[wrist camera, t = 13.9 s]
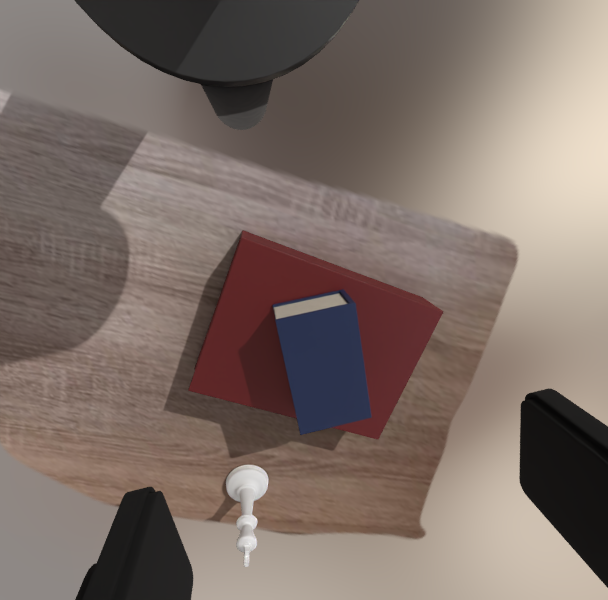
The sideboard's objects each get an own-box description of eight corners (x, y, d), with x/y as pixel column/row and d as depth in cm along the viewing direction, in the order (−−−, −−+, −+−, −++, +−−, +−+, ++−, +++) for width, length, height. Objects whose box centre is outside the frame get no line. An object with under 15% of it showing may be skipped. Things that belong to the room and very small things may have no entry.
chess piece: (224, 498, 44) (217, 585, 34) (227, 464, 43) (221, 544, 33) (266, 498, 45) (270, 583, 35) (270, 464, 43) (276, 543, 34)
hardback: (194, 367, 38) (188, 390, 34) (242, 230, 35) (241, 237, 31) (365, 414, 43) (378, 439, 39) (422, 297, 40) (443, 311, 35)
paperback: (272, 304, 33) (275, 320, 29) (343, 289, 33) (355, 303, 29) (295, 408, 36) (300, 435, 32) (359, 393, 37) (371, 417, 33)
